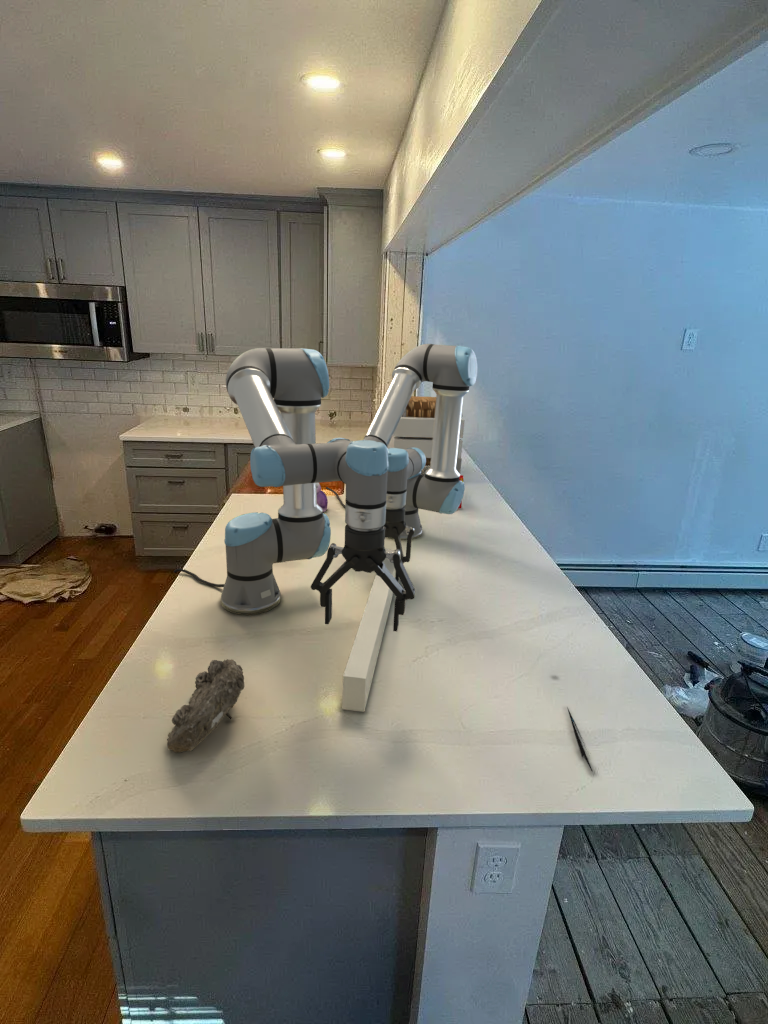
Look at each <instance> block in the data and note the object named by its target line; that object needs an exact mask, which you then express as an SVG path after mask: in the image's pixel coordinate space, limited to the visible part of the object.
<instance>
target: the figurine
mask: <svg viewBox="0 0 768 1024" xmlns="http://www.w3.org/2000/svg"><path fill="white" fill-rule="evenodd" d="M316 491H317V504H318V505H319V506H320V507H321V508H322V510H323V513H325V512H326V511H327V510H328V505H329V501H328V497H327V493H325V492H324V491H323V490H322V486H321V484H320V483H316Z"/></svg>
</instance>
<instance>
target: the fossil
mask: <svg viewBox="0 0 768 1024" xmlns="http://www.w3.org/2000/svg"><path fill="white" fill-rule="evenodd" d="M243 670H244V669H243V667H242V665H240V664H237V662H236V661H235V660H234V659H232V658H231V659H227V658H226V659H224V660H223V661H222V660H217V659H212V660H211V661H210V663H209V665H208V666H207V671H201V672H199V673H198V674H197V675H196V676H195V680H194V684H195V685H194V687H195V689H194V690H193V693H192V694H191V697H190V698H189V700H188V704H184V705H182V706H181V707H180V709H177V710H176V711H175V713H174V715H173V716H172V718H171V723H172V724H173V727H172V730H171V731H170V732H168V734H167V738H166V741H167V742H166V745H167V749H168V750H169V751H173V752H174V753H176V754H178V753H182V752H188V751H189V752H192V751H193V750H195V748H196V747H197V746H199V744H200V743H201V742H203V741H204V740H205V739H206V738H207V737H208V736H209V735H210V734H211V733H212V732H214V730H215V729H217V727H218V726H219V724H220V722H221V721H222V720H223V719H224V718H225V716H226V717H227V719H229V720H233V717H232V715H230V714H229V710H230V709H231V708H234V706H235V704H236V703H237V702H238V699H239V697H240V695H241V693H242V691H243V690H245V689H244V688H245V675H244V671H243Z"/></svg>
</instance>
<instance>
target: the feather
mask: <svg viewBox="0 0 768 1024" xmlns="http://www.w3.org/2000/svg"><path fill="white" fill-rule="evenodd" d="M554 677H557V676H556V675H554ZM566 708H567V711H568V715H569V718H570V722H571V726H572V729H573V732H574V736H575V739H576V742H577V745H578V749H579V753H580V755H581V758H584V759H585V761H586V763H587V765H588V767H589V768H590V770H591V772H593V768H592V766H591V763H590V761H589V758H588V756H587V753H588V755H589V754H590V750H589V748H588V747H586V743H585V741H582V740H583V737H582V734H581V732H580V730H579V728H578V726H577V724H576V722H575V719H574V718H573V716H572V713H571V712H570V708H568V706H566ZM583 744H584V745H583ZM584 747H586V750H587V749H588V750H587V753H586V751H585V749H584Z"/></svg>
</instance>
